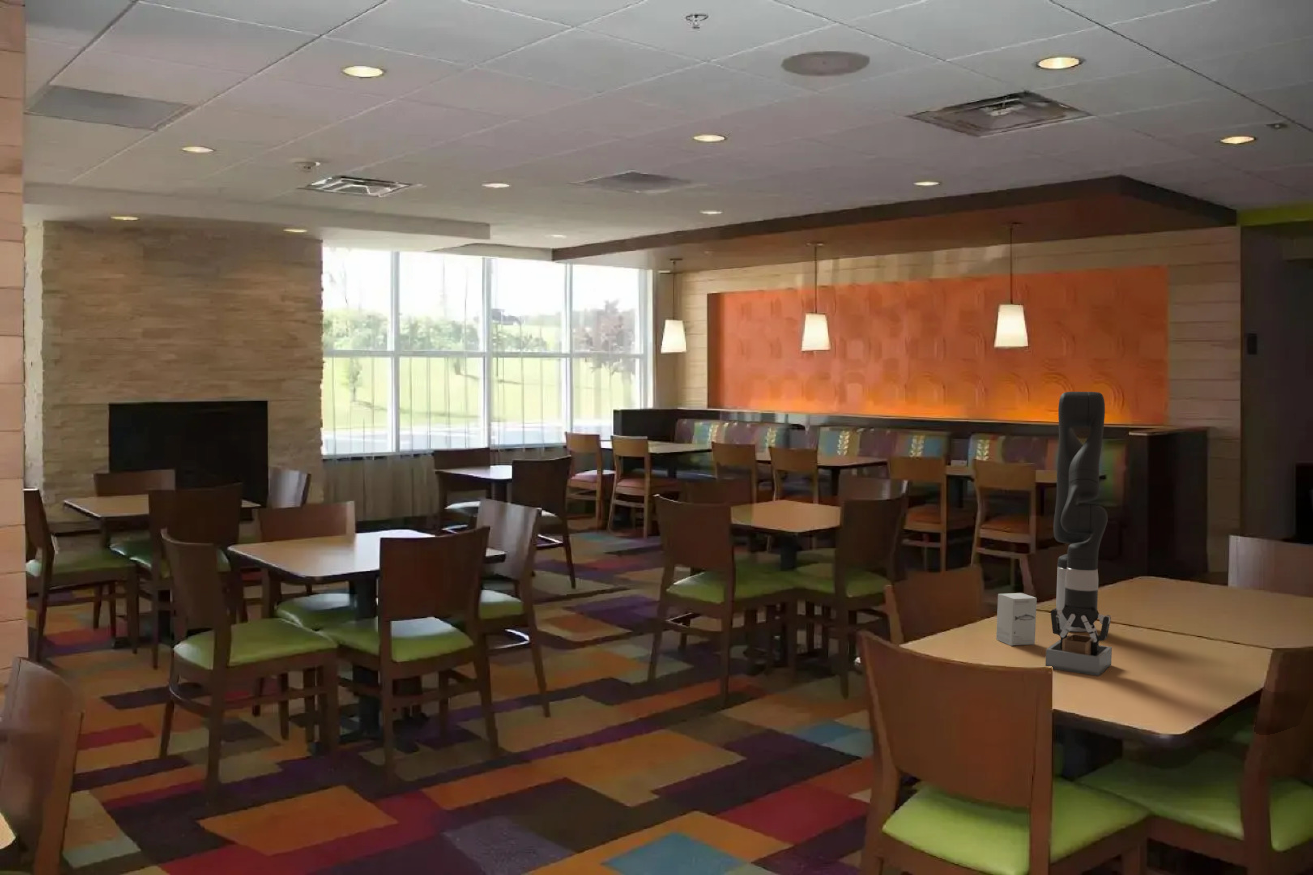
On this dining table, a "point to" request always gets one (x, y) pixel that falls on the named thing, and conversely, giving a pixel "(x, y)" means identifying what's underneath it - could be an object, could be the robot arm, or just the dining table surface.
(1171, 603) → the dining table surface
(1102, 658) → the box
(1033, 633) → the supplement box
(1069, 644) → the small crate
